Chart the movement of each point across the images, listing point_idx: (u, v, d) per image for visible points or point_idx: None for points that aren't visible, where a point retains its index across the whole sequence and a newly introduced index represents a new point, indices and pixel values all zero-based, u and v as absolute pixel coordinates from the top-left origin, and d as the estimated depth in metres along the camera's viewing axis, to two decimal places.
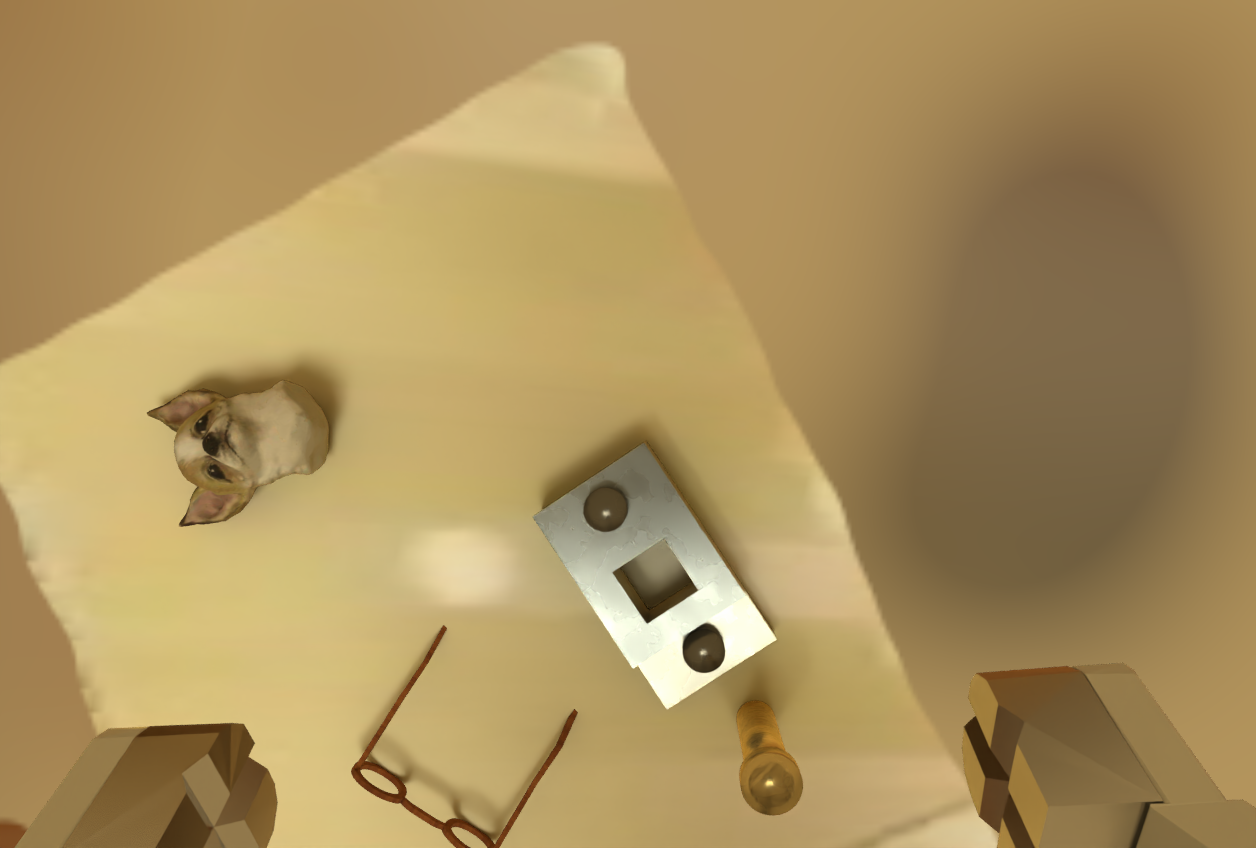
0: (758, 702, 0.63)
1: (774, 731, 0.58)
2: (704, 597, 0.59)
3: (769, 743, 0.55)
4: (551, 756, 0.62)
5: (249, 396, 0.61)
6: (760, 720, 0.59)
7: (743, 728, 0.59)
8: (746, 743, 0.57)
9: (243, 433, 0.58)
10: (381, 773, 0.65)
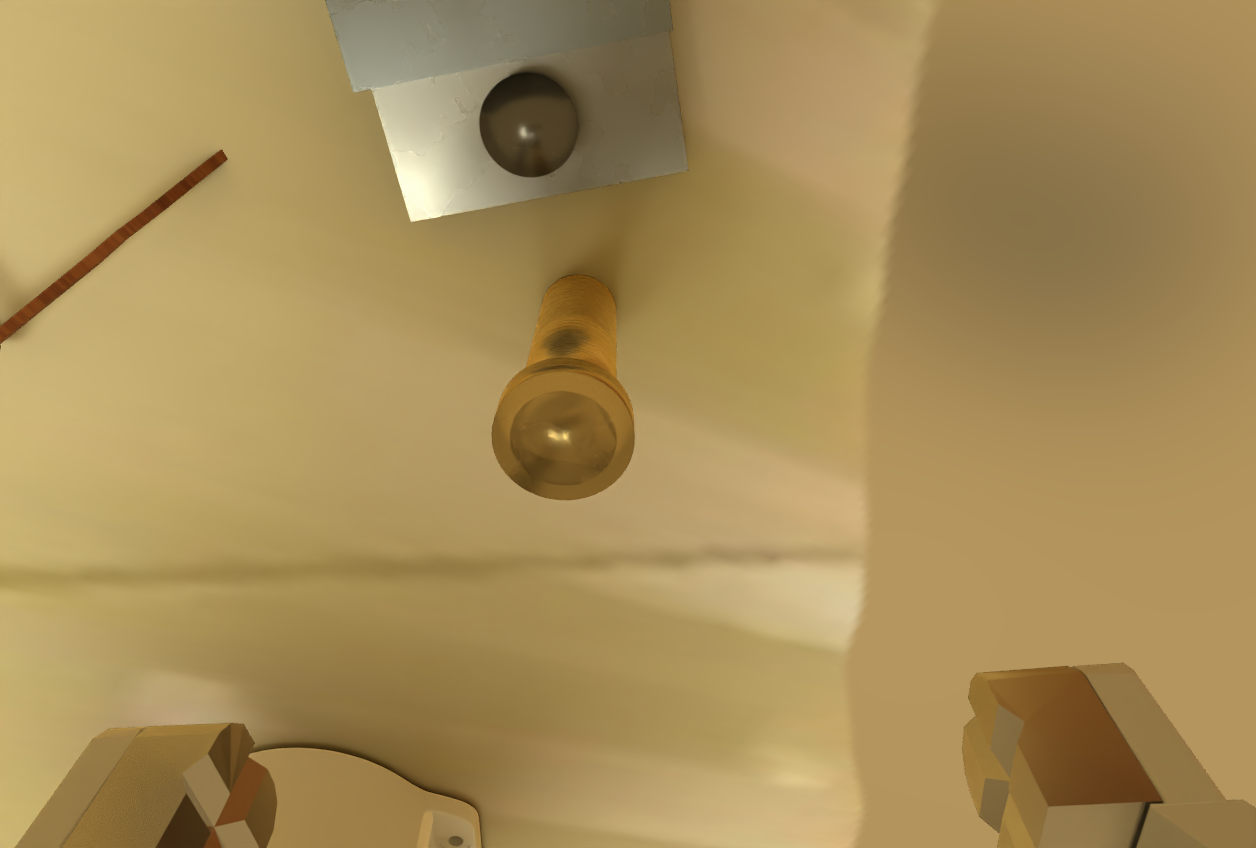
0: (596, 282, 0.32)
1: (609, 340, 0.27)
2: None
3: (591, 357, 0.25)
4: (134, 220, 0.28)
5: None
6: (589, 311, 0.28)
7: (549, 313, 0.28)
8: (544, 341, 0.26)
9: None
10: None
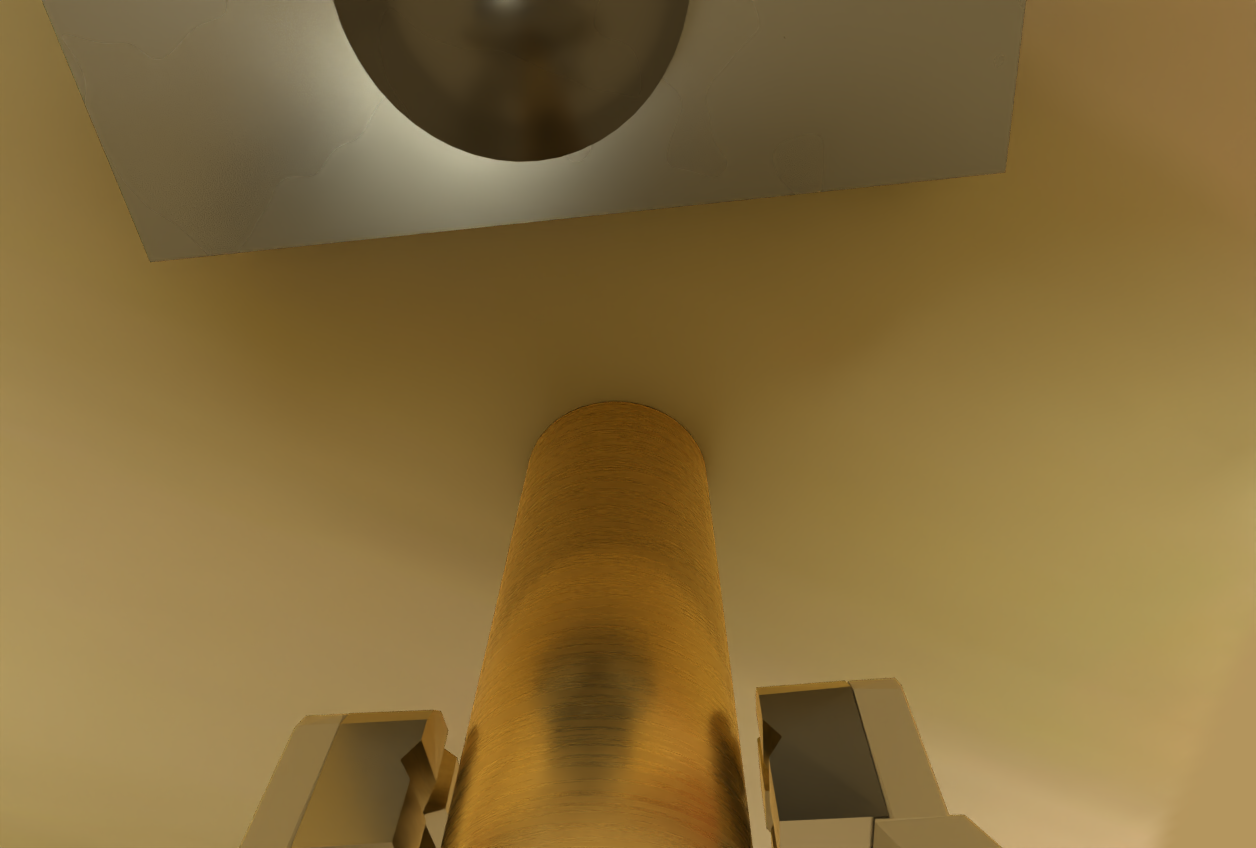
0: (669, 427, 0.13)
1: (726, 709, 0.08)
2: None
3: None
4: None
5: None
6: (662, 580, 0.09)
7: (544, 570, 0.10)
8: (512, 761, 0.07)
9: None
10: None
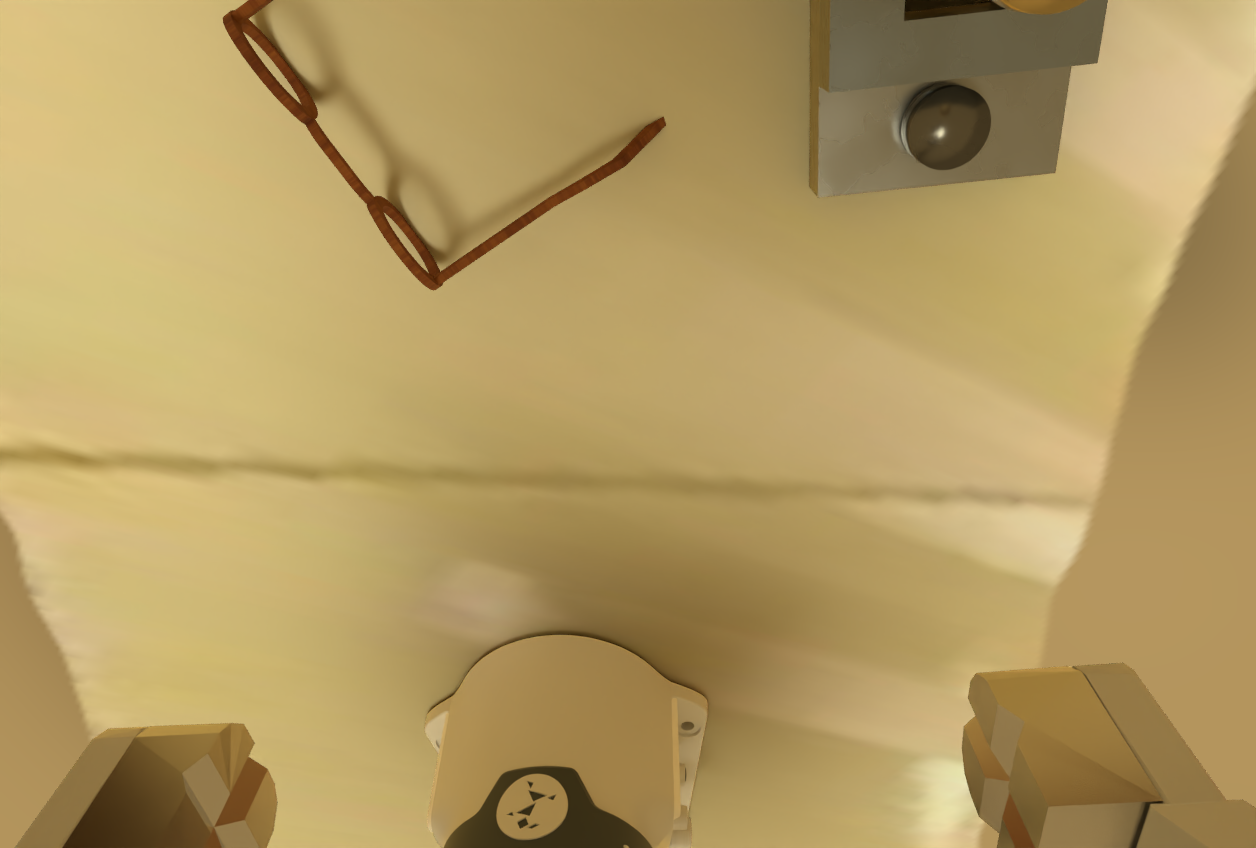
0: None
1: None
2: (1031, 27, 0.30)
3: None
4: (600, 172, 0.34)
5: None
6: None
7: None
8: None
9: None
10: (276, 62, 0.34)
